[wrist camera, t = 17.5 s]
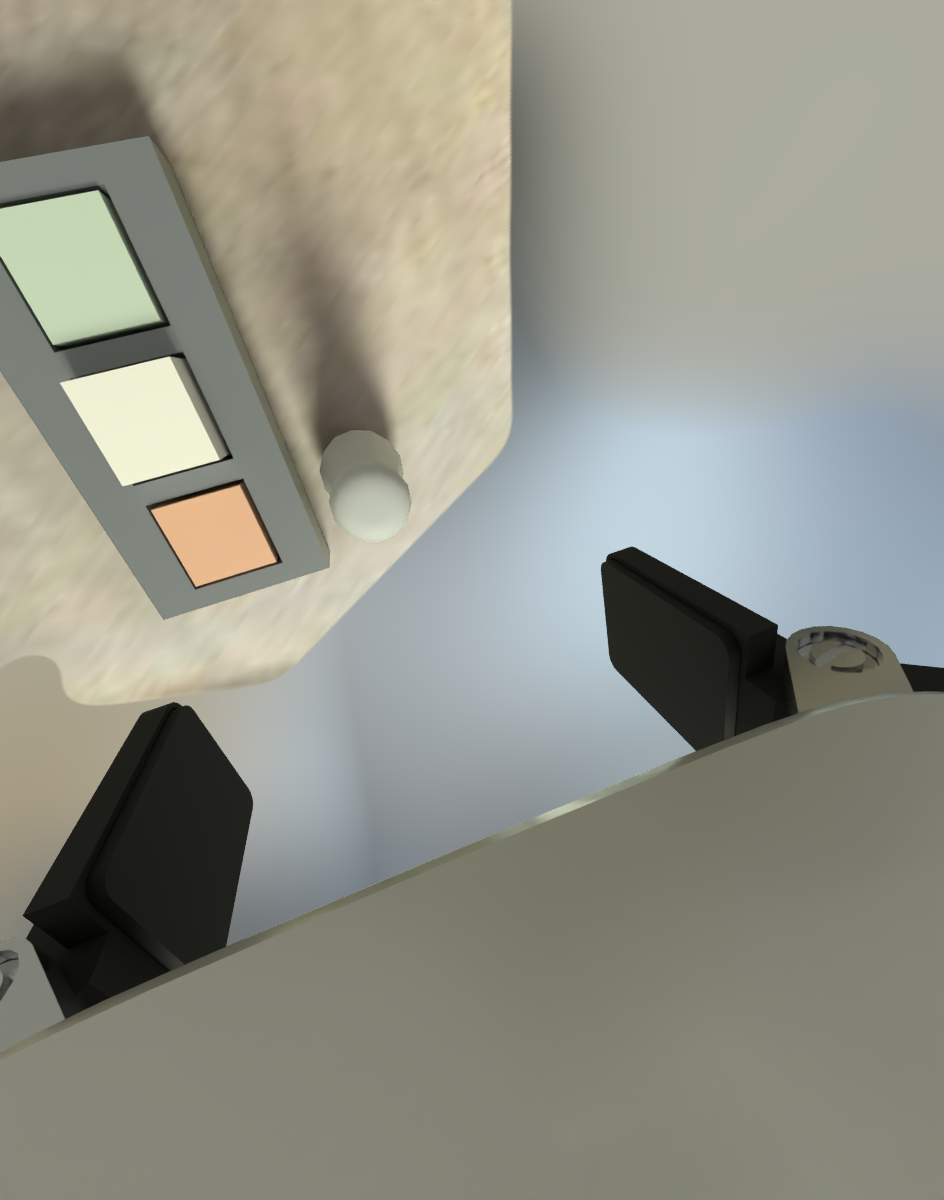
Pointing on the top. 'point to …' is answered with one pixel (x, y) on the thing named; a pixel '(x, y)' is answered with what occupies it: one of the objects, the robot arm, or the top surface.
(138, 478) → the key cream
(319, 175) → the top surface
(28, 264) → the key sage
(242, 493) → the key terracotta
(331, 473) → the salt shaker
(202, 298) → the keypad
